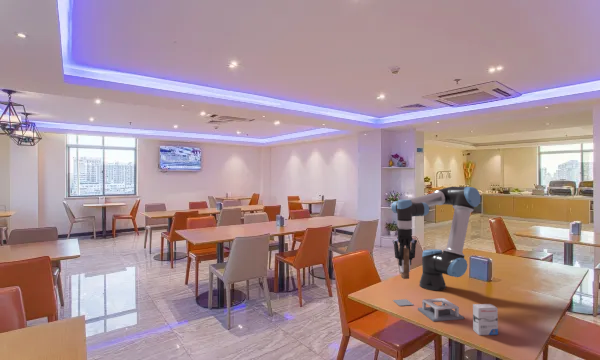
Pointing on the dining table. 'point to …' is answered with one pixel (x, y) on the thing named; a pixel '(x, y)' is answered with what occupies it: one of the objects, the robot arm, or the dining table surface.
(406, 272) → the walnut rod
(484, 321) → the ink box
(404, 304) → the mat
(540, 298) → the dining table surface
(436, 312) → the white open frame stand
